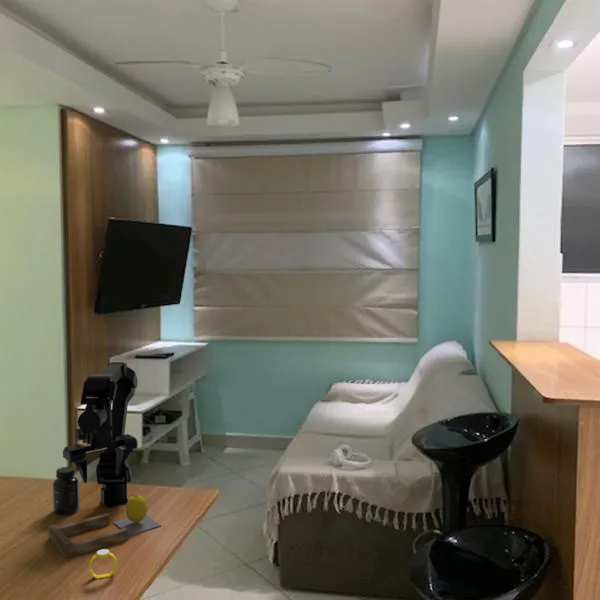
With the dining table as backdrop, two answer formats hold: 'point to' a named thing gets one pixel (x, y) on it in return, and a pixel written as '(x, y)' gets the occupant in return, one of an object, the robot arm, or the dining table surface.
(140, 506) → the lemon
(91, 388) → the robot arm
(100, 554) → the watch
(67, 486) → the supplement bottle
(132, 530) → the mat
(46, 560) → the dining table surface
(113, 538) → the shelf lane
